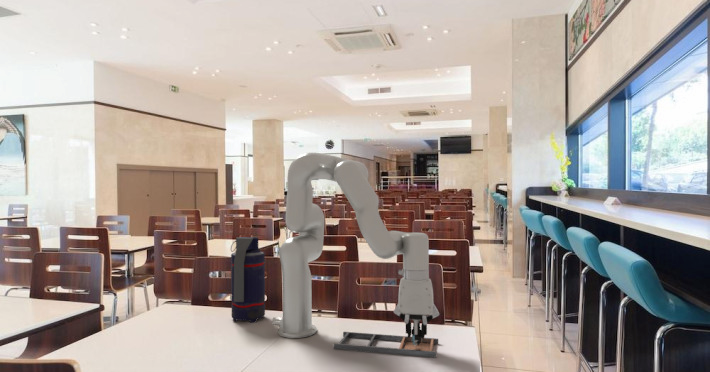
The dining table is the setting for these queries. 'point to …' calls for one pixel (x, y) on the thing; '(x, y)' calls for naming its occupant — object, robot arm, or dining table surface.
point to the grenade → (247, 280)
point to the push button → (416, 329)
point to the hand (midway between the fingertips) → (416, 335)
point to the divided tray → (408, 350)
